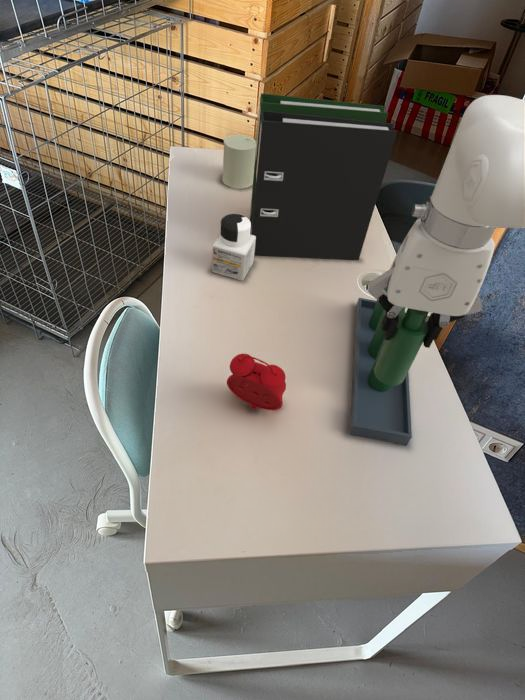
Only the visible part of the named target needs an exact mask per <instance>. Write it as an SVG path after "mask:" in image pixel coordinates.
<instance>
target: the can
mask: <svg viewBox="0 0 525 700" xmlns="http://www.w3.org/2000/svg"><path fill="white" fill-rule="evenodd" d="M256 142H257V140H255V139H254V138H253V137H251V136H249V135H244V134H230V135H227V136H225V138H224V139H223V157H222V158H223V159H222V177H221V181H222V183H223V184H224V185H225V186H227V187H229V188H231V189H235V190H237V189H238V190H242V189H244V190H245V189H248V188H250V187H253V176H254V165H255V153H256Z"/></svg>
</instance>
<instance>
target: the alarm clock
mask: <svg viewBox="0 0 525 700" xmlns="http://www.w3.org/2000/svg"><path fill="white" fill-rule="evenodd" d="M257 361H258V362H257ZM229 371H230V373H231V375H229V376H228V377H227V379H226V386H227V387H228V389H229V391H231V392H232V394H234V396H236V397H237V398H239V399H240V400H242V401H243V402H246V404H249V405H251V406H250V408H251V409H252V410H256V409H257V408H258V409H261V410H266V411H277V410H280V409H281V408H282V406H283V396H284V393H285V391H286V389H287V383H286V377H287V376H286V373H285V371H284V369H282V367H280V366H278V365H277V364H269V363H268V362H266V361H264V360H261V359H260V358H257V357H254V356H252V355H250V354H248V353H239V354H236V355H235V356H234V357H233V358H232V359H231V360H230V363H229Z"/></svg>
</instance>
